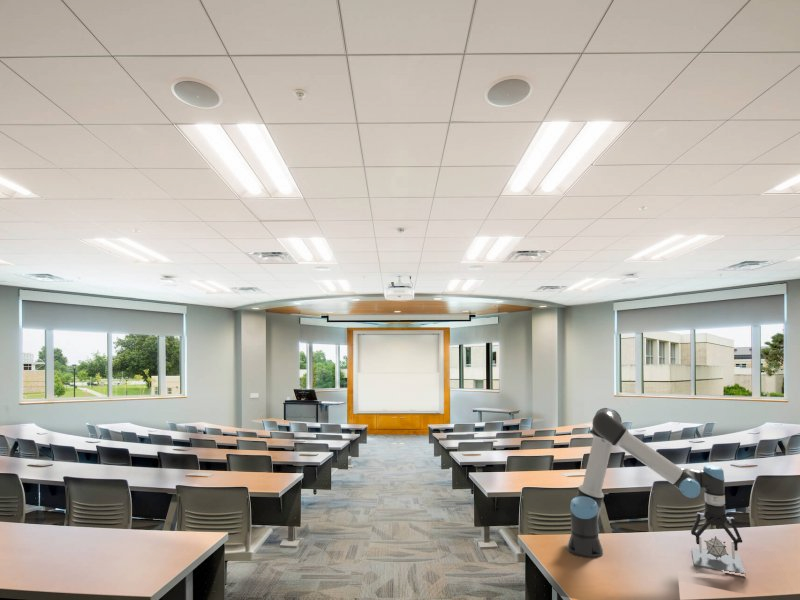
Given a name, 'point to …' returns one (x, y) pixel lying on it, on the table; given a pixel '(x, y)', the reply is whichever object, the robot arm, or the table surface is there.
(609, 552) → the table surface
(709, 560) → the board
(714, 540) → the game die
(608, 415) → the robot arm
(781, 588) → the table surface
